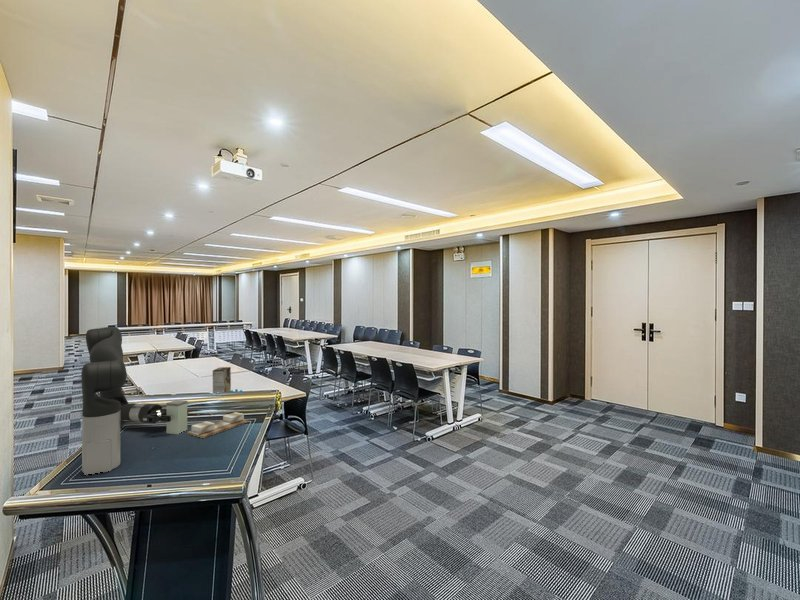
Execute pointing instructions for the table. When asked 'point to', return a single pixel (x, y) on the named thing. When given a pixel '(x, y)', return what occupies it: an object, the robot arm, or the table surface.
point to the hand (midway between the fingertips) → (179, 415)
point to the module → (177, 416)
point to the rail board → (217, 425)
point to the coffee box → (222, 379)
